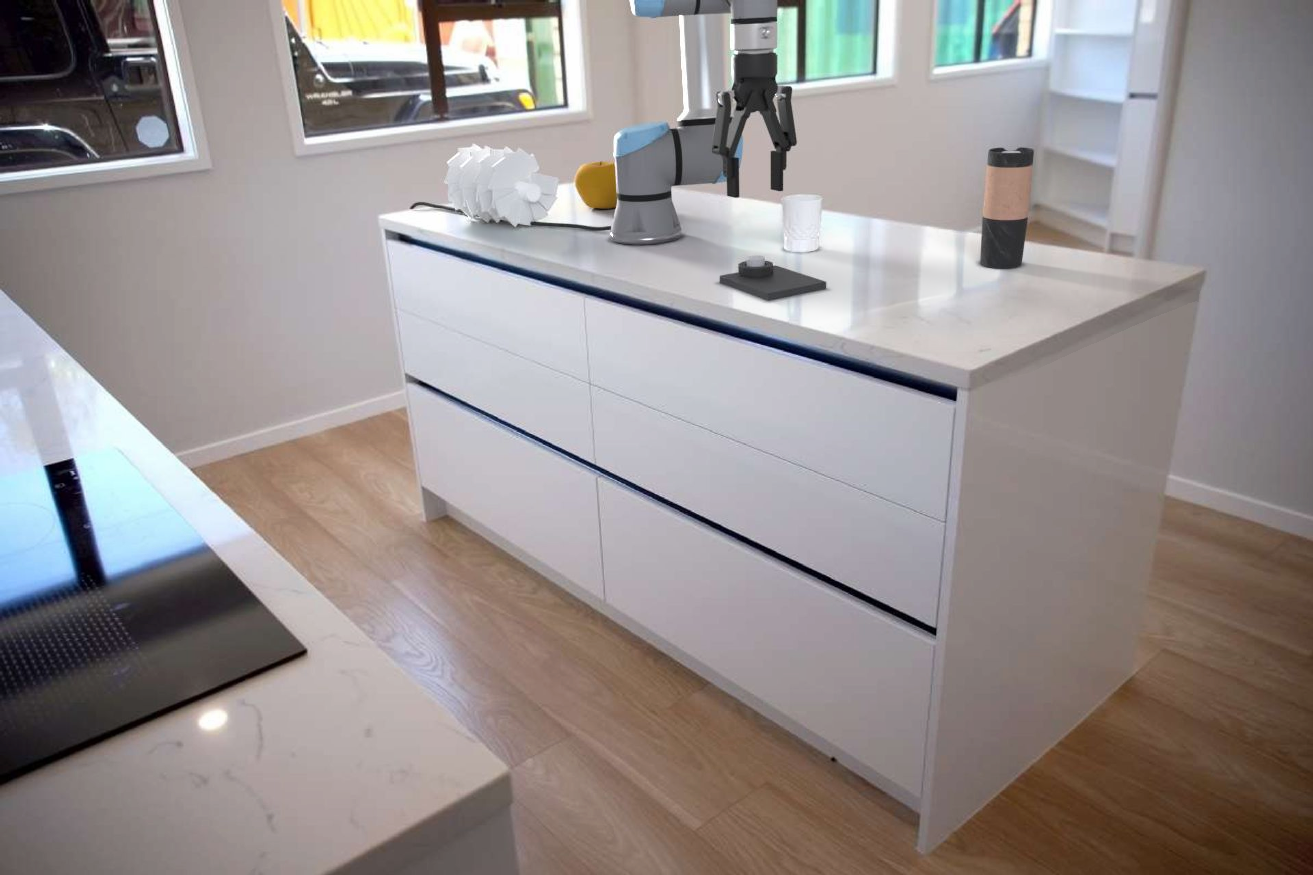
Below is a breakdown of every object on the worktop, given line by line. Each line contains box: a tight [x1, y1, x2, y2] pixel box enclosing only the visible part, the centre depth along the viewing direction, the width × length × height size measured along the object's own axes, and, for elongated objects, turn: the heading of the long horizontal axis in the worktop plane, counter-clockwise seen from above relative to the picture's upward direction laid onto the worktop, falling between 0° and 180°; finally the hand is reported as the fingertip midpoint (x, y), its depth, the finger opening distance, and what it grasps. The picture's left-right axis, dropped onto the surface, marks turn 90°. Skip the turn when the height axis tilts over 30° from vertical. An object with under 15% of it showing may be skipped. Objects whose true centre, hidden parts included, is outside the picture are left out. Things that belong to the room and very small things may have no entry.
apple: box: [573, 160, 617, 210], centre depth 247 cm, size 13×13×11 cm
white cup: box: [781, 194, 823, 253], centre depth 196 cm, size 8×8×10 cm
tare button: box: [746, 255, 766, 267], centre depth 176 cm, size 3×3×2 cm
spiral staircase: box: [443, 142, 560, 228], centre depth 235 cm, size 18×18×25 cm
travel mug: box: [979, 146, 1035, 270], centre depth 176 cm, size 8×8×20 cm
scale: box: [719, 260, 827, 302], centre depth 173 cm, size 16×12×3 cm
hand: (755, 193), depth 171 cm, fingers open, 8 cm apart
